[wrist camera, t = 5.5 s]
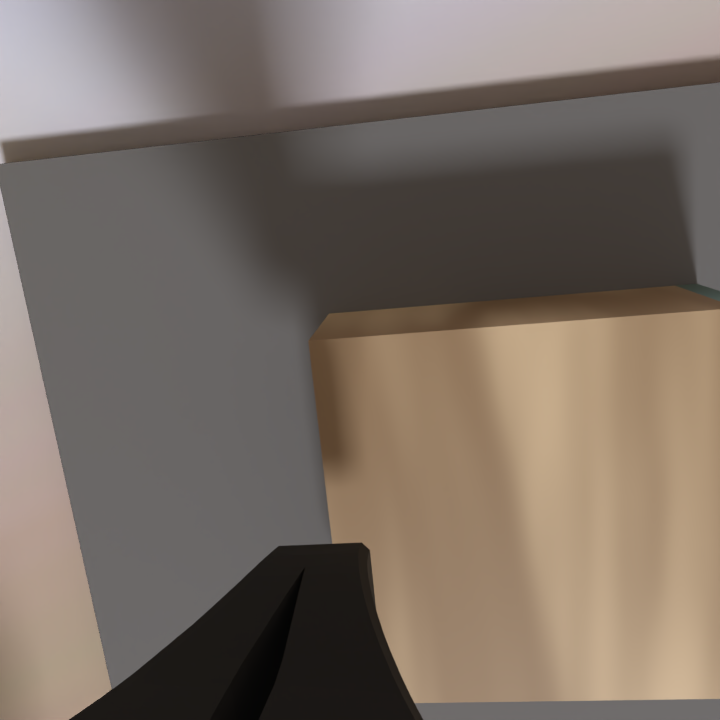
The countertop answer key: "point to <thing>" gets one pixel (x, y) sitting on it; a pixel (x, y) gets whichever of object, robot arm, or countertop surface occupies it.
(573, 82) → the countertop surface
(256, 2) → the countertop surface
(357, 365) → the tile
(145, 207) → the mat
